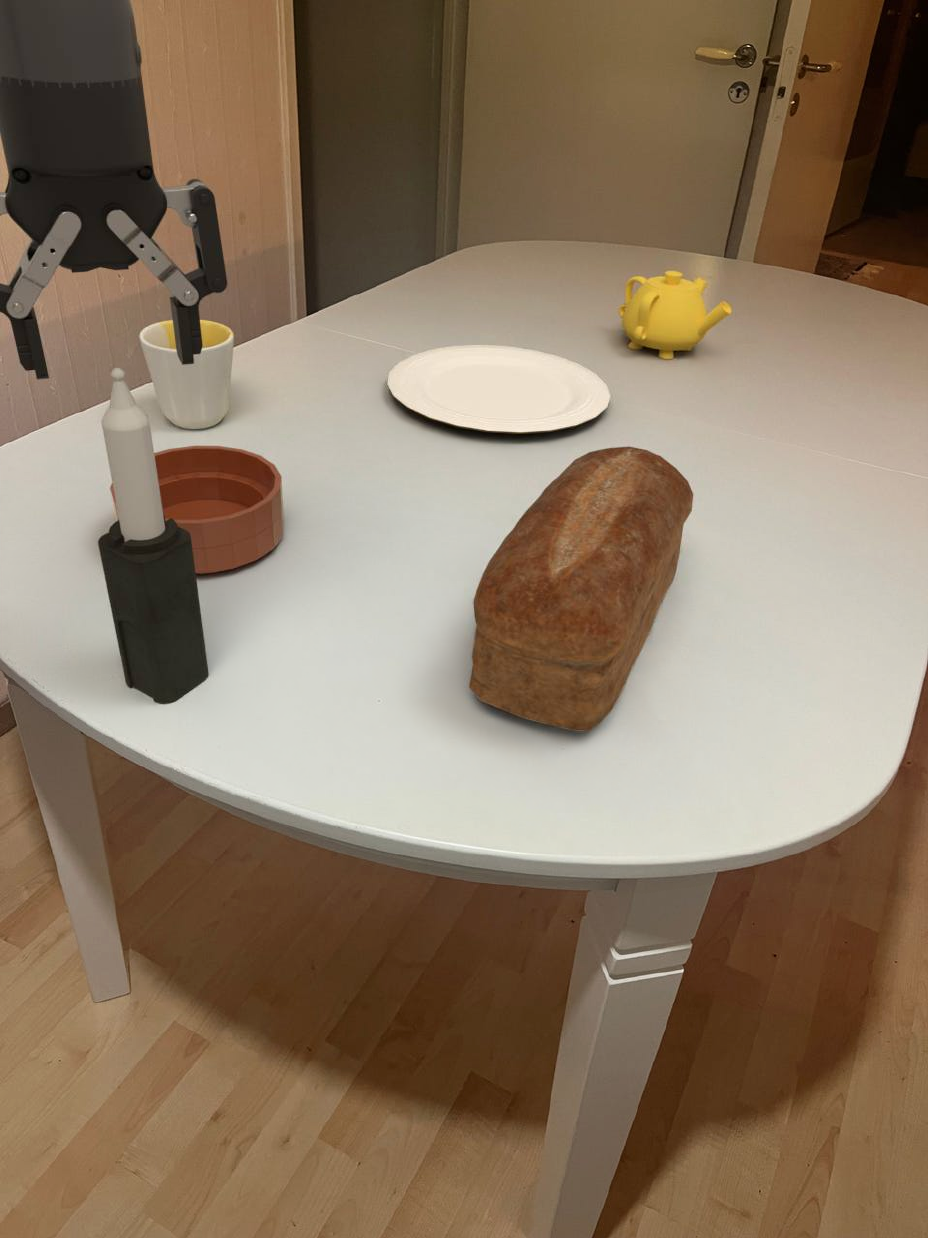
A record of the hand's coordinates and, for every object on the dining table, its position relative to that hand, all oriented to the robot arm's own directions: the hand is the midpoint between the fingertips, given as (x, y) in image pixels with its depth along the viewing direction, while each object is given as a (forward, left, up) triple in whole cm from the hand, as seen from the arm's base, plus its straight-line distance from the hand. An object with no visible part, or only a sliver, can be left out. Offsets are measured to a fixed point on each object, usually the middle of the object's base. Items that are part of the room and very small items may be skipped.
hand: (115, 367), depth 57 cm
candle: (0, 0, -25) cm, 25 cm away
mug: (+13, +48, -25) cm, 56 cm away
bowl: (+7, +20, -25) cm, 33 cm away
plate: (+50, +43, -25) cm, 71 cm away
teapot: (+84, +53, -25) cm, 103 cm away
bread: (+34, -6, -25) cm, 43 cm away
